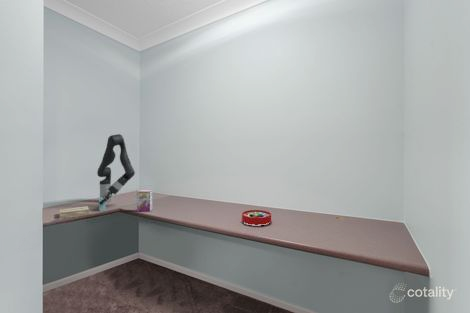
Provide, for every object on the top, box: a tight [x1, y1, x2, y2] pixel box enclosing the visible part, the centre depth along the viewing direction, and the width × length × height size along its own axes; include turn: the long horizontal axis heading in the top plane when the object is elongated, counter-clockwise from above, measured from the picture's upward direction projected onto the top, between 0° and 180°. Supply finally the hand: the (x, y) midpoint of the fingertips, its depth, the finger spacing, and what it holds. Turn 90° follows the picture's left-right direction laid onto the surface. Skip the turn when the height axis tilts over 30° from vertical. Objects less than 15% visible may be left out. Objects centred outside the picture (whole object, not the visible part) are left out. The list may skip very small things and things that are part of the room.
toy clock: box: [241, 209, 272, 225], centre depth 158 cm, size 20×6×20 cm
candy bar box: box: [136, 189, 153, 212], centre depth 188 cm, size 11×5×16 cm, turn 84°
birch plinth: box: [59, 205, 90, 219], centre depth 177 cm, size 14×18×4 cm
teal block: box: [98, 197, 107, 212], centre depth 191 cm, size 4×4×10 cm
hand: (99, 203), depth 190 cm, fingers closed on teal block, 4 cm apart
